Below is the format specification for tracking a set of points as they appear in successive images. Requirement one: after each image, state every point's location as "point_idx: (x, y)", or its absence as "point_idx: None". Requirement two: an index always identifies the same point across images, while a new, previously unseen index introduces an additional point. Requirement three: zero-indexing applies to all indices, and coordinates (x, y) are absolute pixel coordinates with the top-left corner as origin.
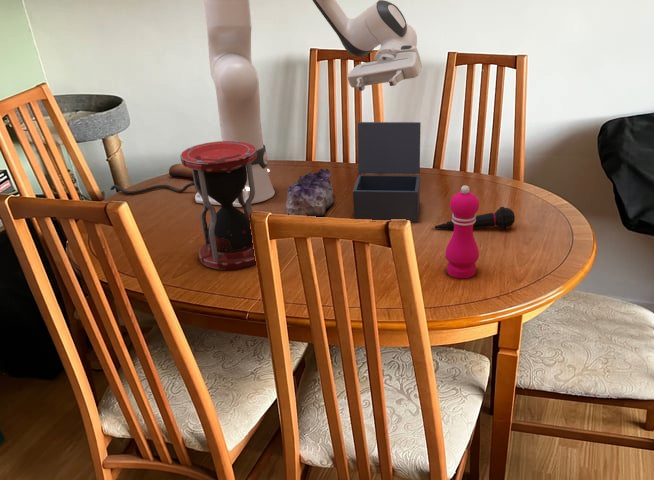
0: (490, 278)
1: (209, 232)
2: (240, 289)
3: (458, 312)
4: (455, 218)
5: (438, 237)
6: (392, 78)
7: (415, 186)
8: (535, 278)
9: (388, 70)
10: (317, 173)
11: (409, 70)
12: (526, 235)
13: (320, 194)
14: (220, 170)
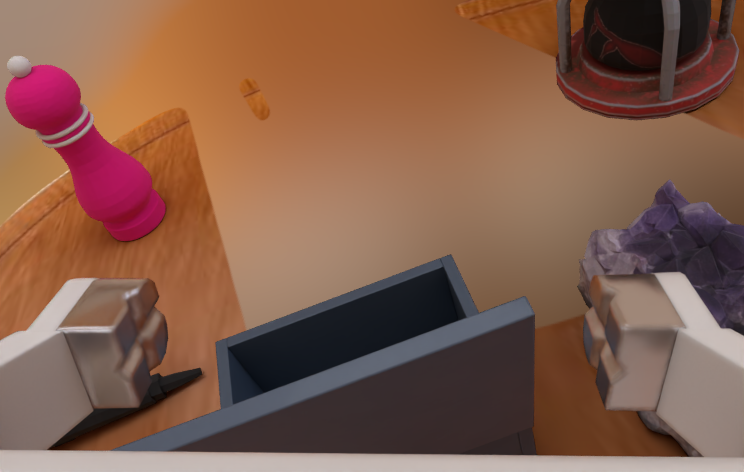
0: (86, 224)
1: None
2: (516, 20)
3: (148, 129)
4: (81, 103)
5: (191, 333)
6: (81, 295)
7: (230, 388)
8: (4, 258)
9: (96, 451)
10: None
11: None
12: None
13: (592, 245)
14: None
